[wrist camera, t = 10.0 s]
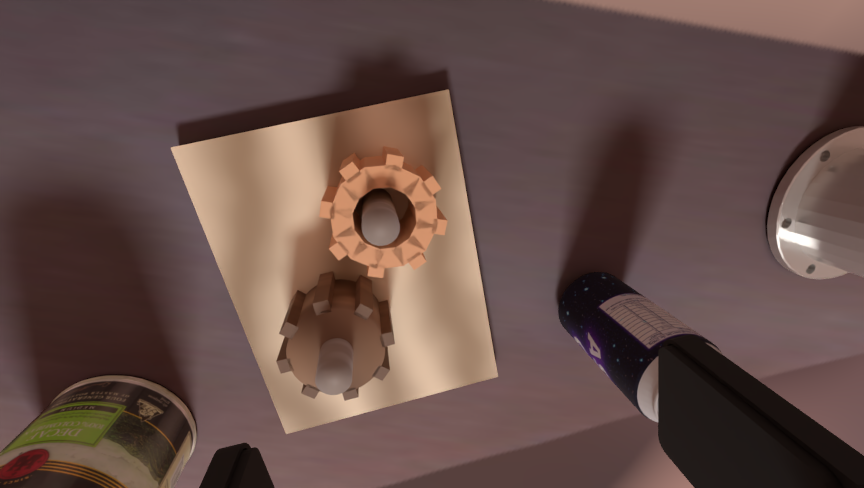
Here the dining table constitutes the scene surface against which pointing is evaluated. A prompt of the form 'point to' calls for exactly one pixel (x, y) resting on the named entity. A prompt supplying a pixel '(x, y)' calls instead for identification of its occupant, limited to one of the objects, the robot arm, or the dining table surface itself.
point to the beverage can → (621, 334)
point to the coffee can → (103, 438)
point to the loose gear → (414, 225)
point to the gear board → (343, 262)
